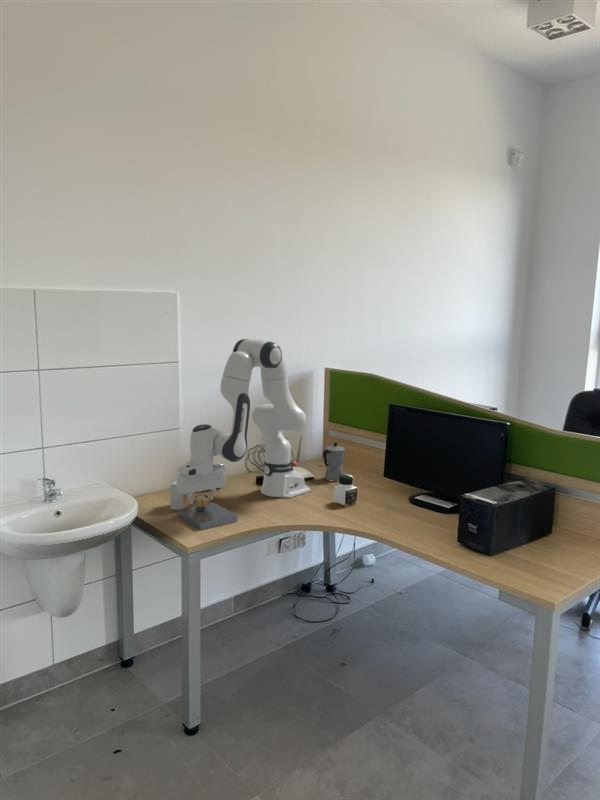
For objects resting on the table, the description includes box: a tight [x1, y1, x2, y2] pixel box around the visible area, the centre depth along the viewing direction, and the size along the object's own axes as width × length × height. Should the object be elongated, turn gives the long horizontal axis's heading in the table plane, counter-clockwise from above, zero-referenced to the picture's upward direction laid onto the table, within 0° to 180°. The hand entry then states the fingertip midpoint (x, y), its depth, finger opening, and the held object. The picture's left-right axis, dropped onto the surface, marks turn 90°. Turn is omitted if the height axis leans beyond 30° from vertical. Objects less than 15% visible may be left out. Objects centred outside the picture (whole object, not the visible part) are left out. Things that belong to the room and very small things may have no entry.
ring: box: [191, 493, 212, 507], centre depth 236 cm, size 7×7×3 cm
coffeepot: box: [322, 442, 346, 482], centre depth 290 cm, size 15×9×18 cm, turn 138°
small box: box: [170, 479, 191, 511], centre depth 245 cm, size 8×6×10 cm
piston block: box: [176, 495, 239, 531], centre depth 233 cm, size 16×18×8 cm
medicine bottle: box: [333, 473, 358, 506], centre depth 257 cm, size 7×7×12 cm
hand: (201, 501), depth 236 cm, fingers closed on ring, 6 cm apart
